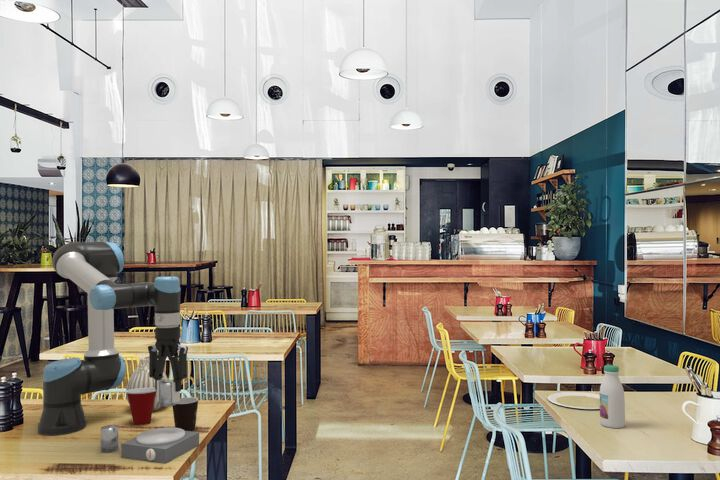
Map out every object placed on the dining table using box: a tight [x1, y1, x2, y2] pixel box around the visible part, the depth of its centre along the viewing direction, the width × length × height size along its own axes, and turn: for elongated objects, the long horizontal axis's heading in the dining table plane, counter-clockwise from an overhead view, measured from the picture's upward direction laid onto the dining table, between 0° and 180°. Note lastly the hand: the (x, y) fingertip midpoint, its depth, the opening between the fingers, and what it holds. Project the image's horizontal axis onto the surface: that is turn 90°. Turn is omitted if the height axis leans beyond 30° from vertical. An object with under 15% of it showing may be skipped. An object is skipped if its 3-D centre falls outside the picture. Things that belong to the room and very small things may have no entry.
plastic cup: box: [125, 388, 157, 426], centre depth 204 cm, size 11×11×12 cm
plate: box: [547, 391, 600, 411], centre depth 223 cm, size 25×25×1 cm
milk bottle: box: [599, 364, 626, 429], centre depth 193 cm, size 8×8×20 cm
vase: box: [125, 355, 169, 412], centre depth 221 cm, size 16×16×20 cm
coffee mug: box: [171, 396, 199, 432], centre depth 196 cm, size 12×9×10 cm
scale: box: [120, 426, 200, 464], centre depth 174 cm, size 16×17×5 cm
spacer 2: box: [160, 379, 177, 407], centre depth 177 cm, size 5×5×7 cm
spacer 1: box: [100, 424, 120, 454], centre depth 176 cm, size 5×5×7 cm
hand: (168, 401), depth 177 cm, fingers closed on spacer 2, 5 cm apart
